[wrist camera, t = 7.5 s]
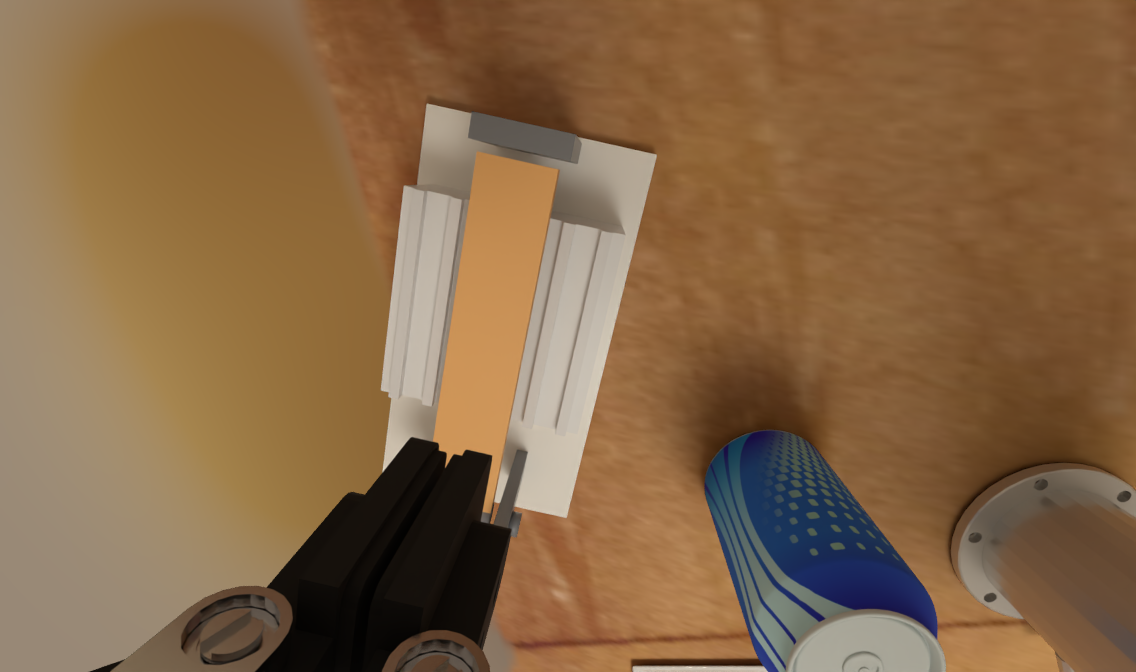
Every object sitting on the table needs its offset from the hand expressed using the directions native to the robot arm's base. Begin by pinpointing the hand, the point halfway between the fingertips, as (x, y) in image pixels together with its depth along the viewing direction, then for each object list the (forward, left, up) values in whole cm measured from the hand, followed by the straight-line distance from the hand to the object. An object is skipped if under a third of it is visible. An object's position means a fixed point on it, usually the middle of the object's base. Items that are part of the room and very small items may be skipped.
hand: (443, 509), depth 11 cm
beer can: (-19, -8, -25) cm, 33 cm away
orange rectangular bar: (-2, +4, -19) cm, 19 cm away
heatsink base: (-2, +4, -25) cm, 26 cm away
